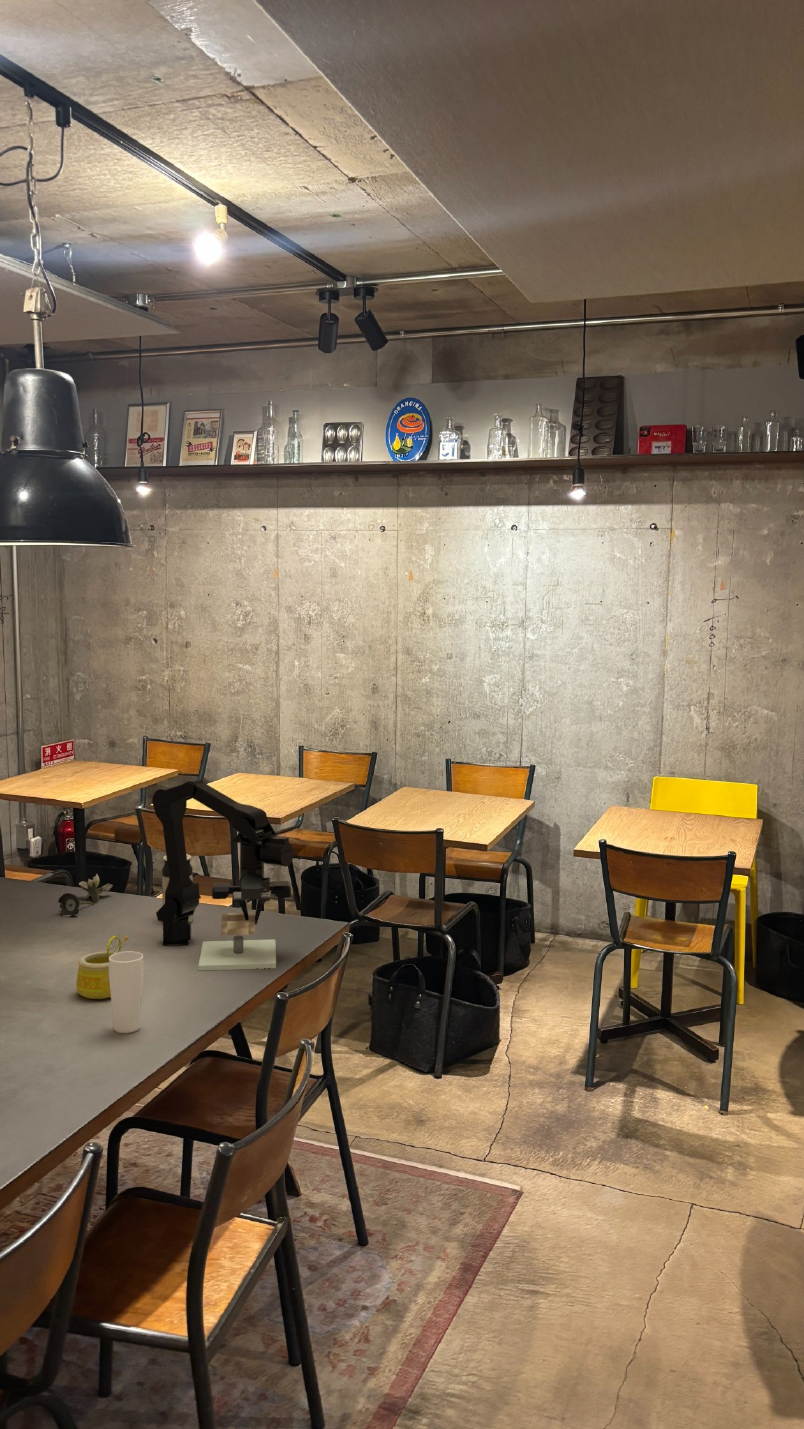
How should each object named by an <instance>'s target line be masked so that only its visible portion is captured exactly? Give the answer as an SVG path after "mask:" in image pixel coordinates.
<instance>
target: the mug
mask: <svg viewBox="0 0 804 1429" xmlns="http://www.w3.org/2000/svg"><path fill="white" fill-rule="evenodd" d="M114 939H115V940H114ZM123 940H124V941H122V939H121V938H120V936H119V935H113V936H112V937H111V938H110V939H109V940H108V942H107V945H106V951H105V950H104V951H97V952H90V953H88V954H85V955H84V956H82V957H81V958H80V959H79V960H78V962H77V963H78V964H77V965H78V970H77V975H76V991H77V992H78V994H79V996H81V997H84V998H85V999H93V1000H105V999H111V994H110V985H109V957H110V956H111V955H113V954H115V953H119V952H122V949H123V948H124V945H125V944H126V941H128V940H129V936H127V935H126V936H125V937H124V939H123ZM118 942H119V943H118ZM122 942H123V943H122ZM111 945H112V947H110V946H111ZM117 948H118V950H117Z"/></svg>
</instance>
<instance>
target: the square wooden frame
mask: <svg viewBox="0 0 804 1429" xmlns="http://www.w3.org/2000/svg"><path fill="white" fill-rule="evenodd" d="M255 913H256V911H255V912H248V914H249V920H245V917H244V914H243V912H227V913H225V912H224V913H221V914H222V915H221V919H220V936H237V935H241V936H245V935H256V925H255Z"/></svg>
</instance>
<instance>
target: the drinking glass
mask: <svg viewBox="0 0 804 1429" xmlns="http://www.w3.org/2000/svg"><path fill="white" fill-rule="evenodd" d="M144 964H145V963H144V954H143V953H141V952H139V951H130V950H128V951H126V950H124V951H121V952H119V953H117V952H116V953H115V954H113V955H111V956H110V957H109V985H110V994H111V998H110V1001H111V1003H110V1004H111V1015H112V1028H113V1030H114V1032H116V1033H118V1034H132V1033H135V1032H137V1031H138V1030H139V1029H140V1027H141V1025H142V1022H141V1020H142V1019H141V1018H142V1017H141V1016H142V1015H141V1014H142V1002H143V991H144V975H145V974H144V973H145V970H144V969H145V967H144V966H145V965H144Z"/></svg>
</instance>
